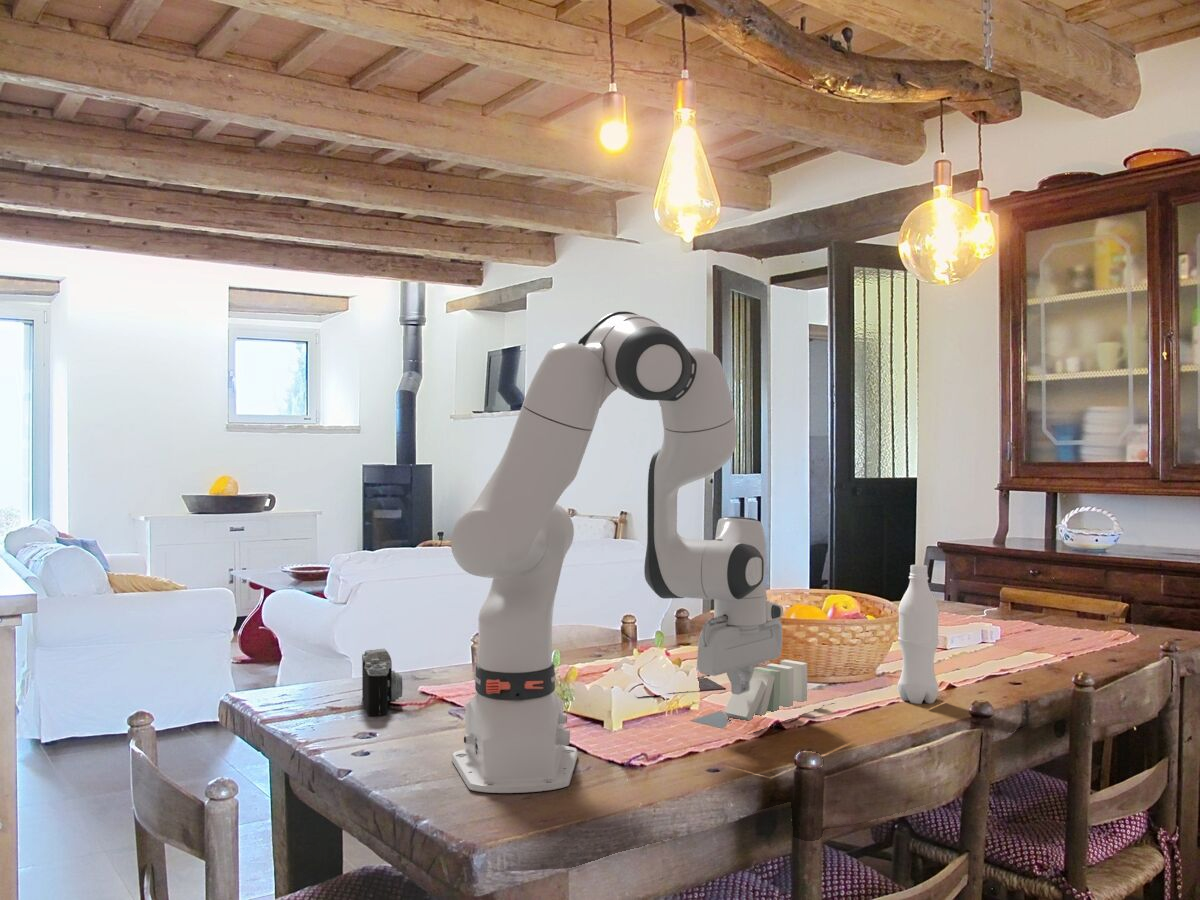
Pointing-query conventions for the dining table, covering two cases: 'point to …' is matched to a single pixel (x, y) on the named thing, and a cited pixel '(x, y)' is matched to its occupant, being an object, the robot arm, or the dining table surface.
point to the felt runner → (714, 719)
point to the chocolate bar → (708, 685)
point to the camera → (379, 682)
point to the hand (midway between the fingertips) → (740, 692)
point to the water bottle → (918, 639)
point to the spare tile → (775, 691)
